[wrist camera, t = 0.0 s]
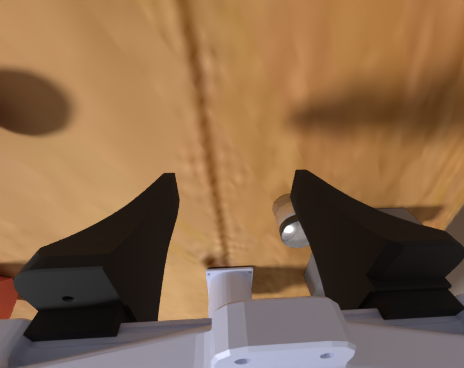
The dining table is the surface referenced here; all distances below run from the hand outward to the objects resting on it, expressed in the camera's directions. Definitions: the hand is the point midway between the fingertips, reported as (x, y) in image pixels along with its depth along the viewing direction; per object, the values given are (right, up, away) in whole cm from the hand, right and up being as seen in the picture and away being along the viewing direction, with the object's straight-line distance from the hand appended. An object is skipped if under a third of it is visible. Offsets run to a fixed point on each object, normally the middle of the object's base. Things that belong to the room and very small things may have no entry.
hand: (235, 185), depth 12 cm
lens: (+7, -3, +15) cm, 17 cm away
